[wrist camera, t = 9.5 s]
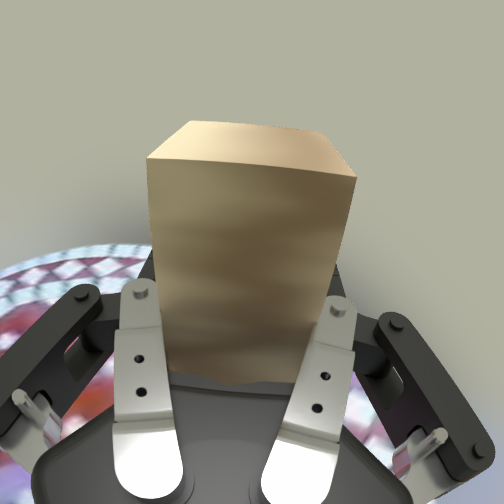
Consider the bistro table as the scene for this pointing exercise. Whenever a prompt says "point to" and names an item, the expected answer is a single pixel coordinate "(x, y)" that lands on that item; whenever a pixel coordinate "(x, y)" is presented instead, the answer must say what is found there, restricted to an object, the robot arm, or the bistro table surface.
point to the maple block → (244, 245)
